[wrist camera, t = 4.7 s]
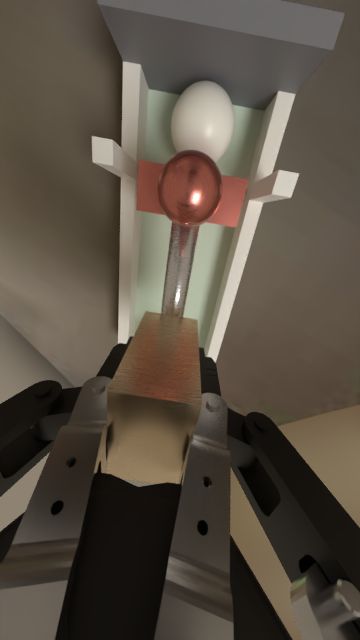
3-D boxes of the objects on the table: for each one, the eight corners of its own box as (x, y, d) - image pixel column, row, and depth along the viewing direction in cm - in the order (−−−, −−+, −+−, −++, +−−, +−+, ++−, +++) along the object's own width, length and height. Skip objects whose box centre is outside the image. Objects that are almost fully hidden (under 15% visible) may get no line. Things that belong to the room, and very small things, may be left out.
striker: (160, 177, 15) (32, 21, 3) (226, 189, 15) (363, 85, 3) (147, 322, 21) (84, 473, 9) (195, 330, 21) (201, 489, 9)
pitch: (138, 74, 14) (84, -68, 7) (278, 100, 14) (363, -12, 7) (127, 338, 24) (100, 389, 17) (210, 351, 24) (217, 407, 17)
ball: (166, 100, 10) (165, 176, 14) (242, 115, 11) (221, 186, 14) (178, 57, 12) (174, 137, 16) (246, 70, 12) (226, 147, 16)
